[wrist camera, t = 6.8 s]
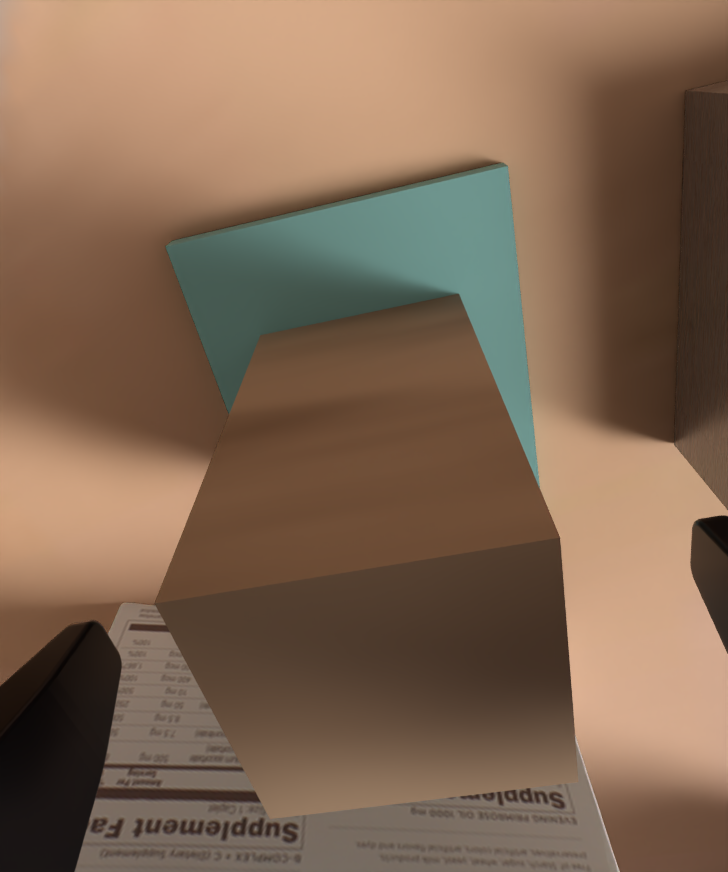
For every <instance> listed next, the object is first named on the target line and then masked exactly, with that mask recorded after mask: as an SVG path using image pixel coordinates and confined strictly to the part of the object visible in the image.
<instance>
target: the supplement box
mask: <svg viewBox="0 0 728 872" xmlns="http://www.w3.org/2000/svg"><path fill="white" fill-rule="evenodd" d="M108 635H109V637H110V639H111V640H112V642H113V643H114V645H115V647H116V648H117V650H118V652H119V654H120V657H121V661H122V670H121V676H120V682H119V688H118V693H117V699H116V705H115V710H114V716H113V722H112V727H111V733H110V739H109V744H108V750H107V755H106V759H105V764H104V768H103V772H102V776H101V780H100V784H99V787H98V791H97V794H96V798H95V802H94V805H93V809H92V812H91V816H90V819H89V823H88V827H87V830H86V834H85V837H84V841H83V844H82V848H81V851H80V855H79V859H78V862H77V866H76V869H75V872H620V871H619V868H618V865H617V862H616V859H615V856H614V853H613V850H612V847H611V844H610V841H609V838H608V834H607V831H606V828H605V825H604V822H603V819H602V816H601V813H600V810H599V806H598V803H597V800H596V797H595V794H594V791H593V788H592V785H591V782H590V779H589V776H588V773H587V770H586V767H585V764H584V761H583V757H582V755H581V752H580V749H579V746H578V742H577V739H576V736H575V742H576V755H577V768H578V781H579V782H576V783H568V784H559V785H551V786H542V787H534V788H526V789H517V790H509V791H501V792H492V793H484V794H476V795H467V796H459V797H451V798H442V799H434V800H426V801H417V802H409V803H401V804H392V805H384V806H376V807H367V808H359V809H351V810H342V811H334V812H325V813H317V814H309V815H300V816H292V817H284V818H275V819H270V818H269V816H268V814H267V813H266V811H265V809H264V807H263V805H262V803H261V801H260V800H259V798H258V796H257V794H256V792H255V790H254V788H253V786H252V785H251V783H250V781H249V779H248V777H247V775H246V773H245V772H244V770H243V768H242V766H241V764H240V762H239V760H238V758H237V757H236V755H235V753H234V751H233V749H232V747H231V745H230V744H229V742H228V740H227V738H226V736H225V734H224V732H223V730H222V729H221V727H220V725H219V723H218V721H217V719H216V717H215V716H214V714H213V712H212V710H211V708H210V706H209V704H208V702H207V701H206V699H205V697H204V695H203V693H202V691H201V689H200V688H199V686H198V684H197V682H196V680H195V678H194V676H193V674H192V673H191V671H190V669H189V667H188V665H187V663H186V661H185V660H184V658H183V656H182V654H181V652H180V650H179V648H178V646H177V645H176V643H175V641H174V639H173V637H172V635H171V633H170V632H169V630H168V628H167V626H166V624H165V622H164V620H163V618H162V617H161V615H160V613H159V611H158V609H157V607H156V605H147V604H138V603H124V602H123V603H122V604H121V606H120V608H119V610H118V612H117V614H116V617H115V619H114V621H113V623H112V626H111V628H110V630H109V632H108Z"/></svg>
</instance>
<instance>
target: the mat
mask: <svg viewBox="0 0 728 872" xmlns="http://www.w3.org/2000/svg"><path fill="white" fill-rule="evenodd" d="M165 247H166V250H167V253H168V255H169V258H170V261H171V263H172V266H173V268H174V271H175V274H176V276H177V279H178V282H179V284H180V287H181V290H182V292H183V295H184V297H185V300H186V303H187V305H188V308H189V311H190V313H191V316H192V319H193V321H194V324H195V326H196V329H197V332H198V334H199V337H200V340H201V342H202V345H203V348H204V350H205V353H206V355H207V358H208V361H209V363H210V366H211V369H212V371H213V374H214V377H215V379H216V382H217V384H218V387H219V390H220V392H221V395H222V398H223V400H224V403H225V406H226V408H227V411H228V413H229V414H230V411H231V409H232V406H233V403H234V401H235V398H236V396H237V393H238V391H239V388H240V386H241V383H242V381H243V378H244V376H245V373H246V371H247V368H248V365H249V363H250V360H251V358H252V355H253V353H254V350H255V348H256V345H257V343H258V340H259V338H260V335H264V334H269V333H273V332H278V331H283V330H288V329H292V328H297V327H302V326H307V325H312V324H316V323H321V322H326V321H331V320H335V319H340V318H345V317H350V316H355V315H359V314H364V313H369V312H374V311H378V310H383V309H388V308H393V307H398V306H402V305H407V304H412V303H417V302H421V301H426V300H431V299H436V298H441V297H445V296H450V295H455V294H459V295H460V297H461V300H462V302H463V305H464V307H465V309H466V312H467V314H468V317H469V319H470V322H471V324H472V326H473V329H474V331H475V334H476V336H477V338H478V341H479V343H480V346H481V348H482V351H483V353H484V355H485V358H486V360H487V363H488V365H489V367H490V370H491V372H492V375H493V377H494V379H495V382H496V384H497V387H498V389H499V392H500V394H501V396H502V399H503V401H504V404H505V406H506V408H507V411H508V413H509V416H510V418H511V421H512V423H513V425H514V428H515V430H516V433H517V435H518V437H519V440H520V442H521V445H522V447H523V450H524V452H525V454H526V457H527V459H528V462H529V464H530V466H531V469H532V471H533V474H534V476H535V478H536V481H537V483H538V486H539V476H538V466H537V456H536V446H535V436H534V426H533V415H532V405H531V395H530V385H529V375H528V365H527V355H526V345H525V335H524V325H523V314H522V304H521V294H520V284H519V274H518V264H517V254H516V244H515V234H514V223H513V213H512V203H511V193H510V183H509V173H508V166H507V165H506V164H504V163H499V164H495V165H491V166H486V167H482V168H478V169H474V170H469V171H465V172H461V173H457V174H452V175H448V176H444V177H440V178H436V179H431V180H427V181H423V182H419V183H414V184H410V185H406V186H402V187H397V188H393V189H389V190H385V191H381V192H376V193H372V194H368V195H364V196H359V197H355V198H351V199H347V200H342V201H338V202H334V203H330V204H326V205H321V206H317V207H313V208H309V209H304V210H300V211H296V212H292V213H287V214H283V215H279V216H275V217H271V218H266V219H262V220H258V221H254V222H249V223H245V224H241V225H237V226H232V227H228V228H224V229H220V230H216V231H211V232H207V233H203V234H199V235H194V236H190V237H186V238H182V239H177V240H173V241H171V242H170V243H169V244H168V245H167V246H165ZM539 488H540V486H539Z"/></svg>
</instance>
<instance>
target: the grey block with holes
mask: <svg viewBox="0 0 728 872" xmlns="http://www.w3.org/2000/svg"><path fill="white" fill-rule="evenodd" d="M674 445H675V446H676V447H677V449H678V450H679V451H680V452H681V454H682V455H683V456H684V457H685V458H686V460H687V461H688V462H689V463H690V465H691V466H692V467H693V468H694V469H695V471H696V472H697V473H698V474H699V475H700V477H701V478H702V479H703V480H704V482H705V483H706V484H707V485H708V486H709V488H710V489H711V490H712V491H713V493H714V494H715V495H716V496H717V497H718V499H719V500H720V501H721V502H722V504H723V505H724V506H725V507H726V508H727V510H728V81H724V82H720V83H715V84H711V85H707V86H703V87H699V88H695V89H691V90H686V97H685V127H684V158H683V188H682V219H681V249H680V279H679V310H678V340H677V371H676V401H675V432H674Z"/></svg>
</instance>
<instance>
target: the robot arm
mask: <svg viewBox="0 0 728 872" xmlns="http://www.w3.org/2000/svg"><path fill="white" fill-rule="evenodd" d="M690 564H691V571H692V575H693V578H694V580H695V583H696V585H697V587H698V589H699V592H700V594H701V596H702V598H703V600H704V603H705V605H706V607H707V609H708V611H709V614H710V616H711V618H712V620H713V622H714V625H715V627H716V629H717V631H718V634H719V636H720V638H721V640H722V642H723V645H724V647H725V649H726V651H727V653H728V516H715V517H709V518H703V519H698V520H697V521H695V522H694V524H693V527H692V542H691V561H690ZM121 670H122V661H121V657H120V654H119V652H118V650H117V648H116V647H115V645H114V643H113V642H112V640H111V639H110V637H109V635H108V634H107V632H106V631H105V629H104V627H103V626H102V624H101V623H99V622H98V621H96V620H90V621H84V622H78V623H73V624H71V625H69V626H67V627H66V628H65V629H64V630H63V631H62V632H60V633H59V634H58V635H57V636H56V637H55V638H54V639H53V640H51V641H50V642H49V643H48V644H47V645H46V646H45V647H44V648H43V649H41V650H40V651H39V652H38V653H37V654H36V655H35V656H34V657H32V658H31V659H30V660H29V661H28V662H27V663H26V664H25V665H23V666H22V667H21V668H20V669H19V670H18V671H17V672H16V673H15V674H13V675H12V676H11V677H10V678H9V679H8V680H7V681H6V682H4V683H3V684H2V685H1V686H0V872H75V869H76V866H77V862H78V859H79V855H80V851H81V848H82V844H83V841H84V837H85V834H86V830H87V827H88V823H89V819H90V816H91V812H92V809H93V805H94V802H95V798H96V794H97V791H98V787H99V784H100V780H101V776H102V772H103V768H104V764H105V759H106V755H107V750H108V744H109V739H110V733H111V727H112V722H113V716H114V710H115V705H116V699H117V693H118V688H119V682H120V676H121Z"/></svg>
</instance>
